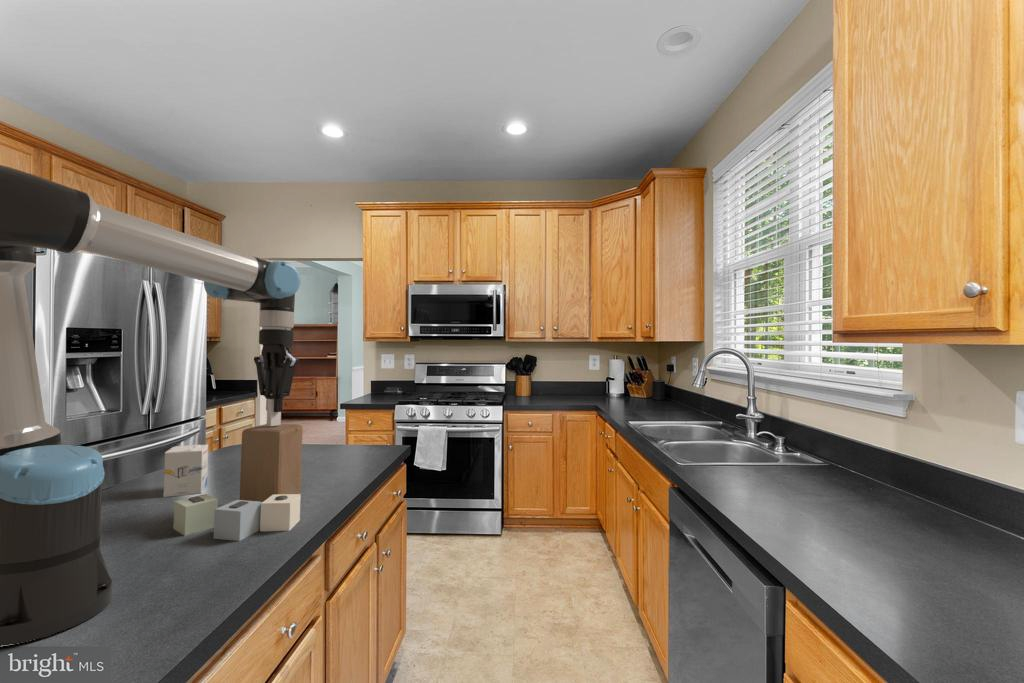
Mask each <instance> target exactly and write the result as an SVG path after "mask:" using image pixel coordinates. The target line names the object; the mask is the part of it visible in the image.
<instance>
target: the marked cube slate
mask: <svg viewBox="0 0 1024 683" xmlns="http://www.w3.org/2000/svg"><path fill="white" fill-rule="evenodd" d="M261 503H262V502H258V501H246V500H240V499H236V500H233V501H231V502H229V503H226V504H224V505H221V506H218V508H216V509H215V514H214V528H213V539H217V540H226V541H237V542H240V541H243V540H244V539H246V538H248V537H250V536H252V535H254V534H255V533H257V532H259V531H260V517H261Z"/></svg>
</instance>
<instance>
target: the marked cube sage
mask: <svg viewBox="0 0 1024 683" xmlns="http://www.w3.org/2000/svg"><path fill="white" fill-rule="evenodd" d="M173 504H174V505H173V508H174V509H173V530H174V531H175V532H178V533H179V534H180V535H183V536H184V537H186V536H188V535H193V534H195V533H196V534H197V533H199V531H200V532H203V530H204V531H207V530H210V529H214V514H215V509H216V508H219V499H218V498H216V497H213V496H211V495H209V494H207V493H204V494H200V495H199V494H198V495H195V496H191V497H186V498H182V499H179V500H178V499H177V500H174V501H173ZM192 533H193V534H192Z"/></svg>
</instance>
